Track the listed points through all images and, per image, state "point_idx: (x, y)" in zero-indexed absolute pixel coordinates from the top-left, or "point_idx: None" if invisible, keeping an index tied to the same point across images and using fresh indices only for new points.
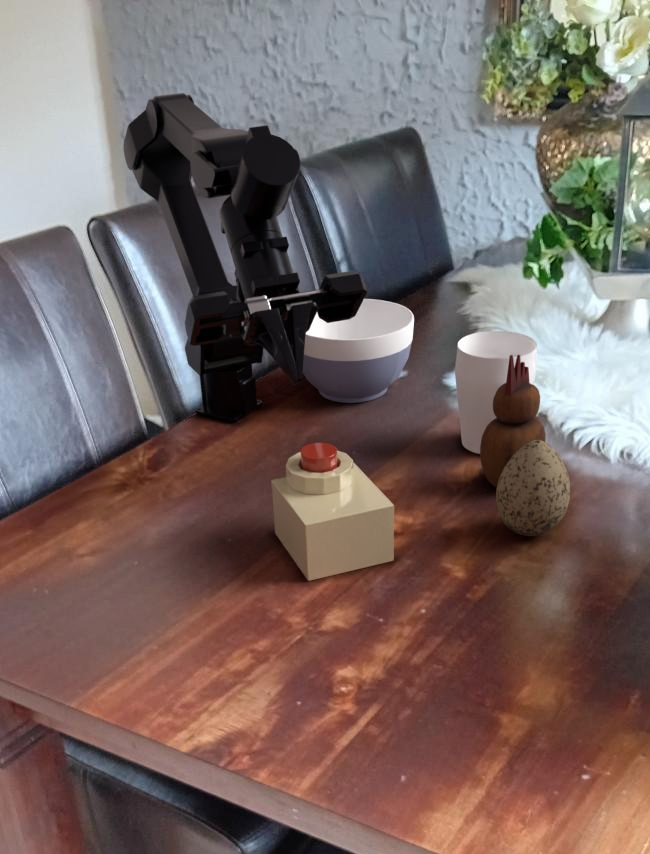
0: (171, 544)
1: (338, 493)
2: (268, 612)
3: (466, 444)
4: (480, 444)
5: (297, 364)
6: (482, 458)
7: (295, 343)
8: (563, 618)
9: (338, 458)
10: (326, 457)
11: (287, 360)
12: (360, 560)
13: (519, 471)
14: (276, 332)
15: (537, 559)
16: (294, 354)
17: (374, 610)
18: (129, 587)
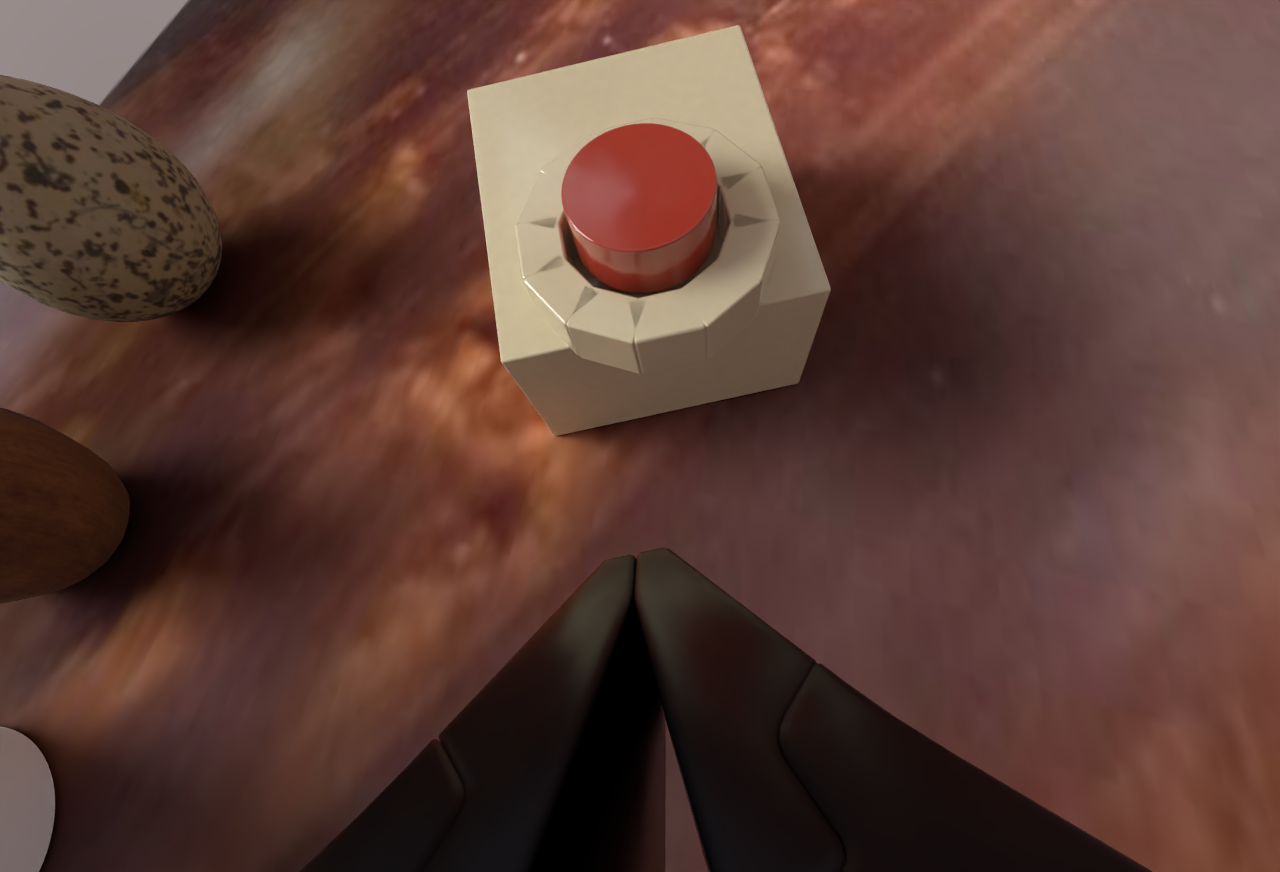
0: (1124, 383)
1: None
2: (832, 78)
3: (38, 809)
4: (3, 749)
5: (615, 602)
6: (74, 509)
7: (567, 723)
8: (297, 20)
9: (563, 244)
10: (619, 127)
11: (719, 598)
12: None
13: (63, 105)
14: (939, 833)
15: (233, 183)
16: (618, 688)
17: None
18: (1204, 198)
